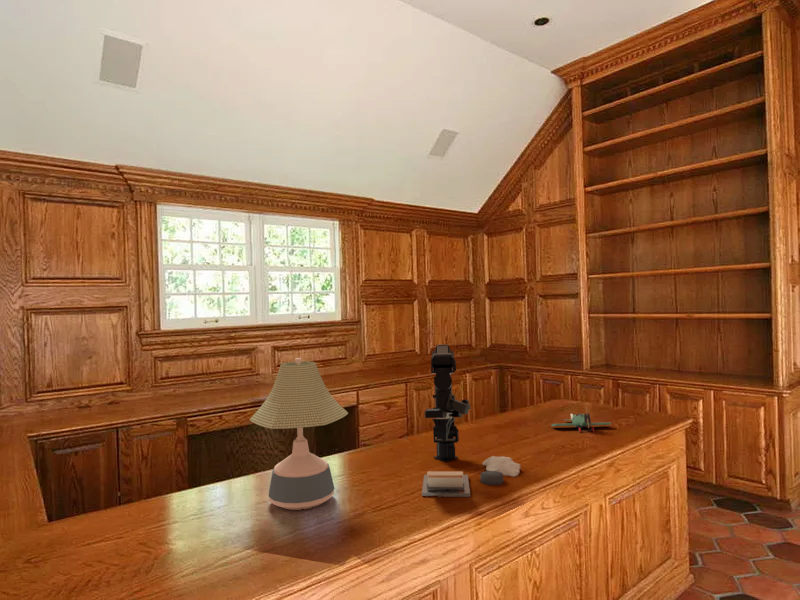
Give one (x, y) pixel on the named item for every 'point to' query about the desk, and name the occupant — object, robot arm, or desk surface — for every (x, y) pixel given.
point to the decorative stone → (502, 465)
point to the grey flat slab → (446, 490)
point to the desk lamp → (299, 434)
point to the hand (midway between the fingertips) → (444, 440)
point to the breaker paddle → (445, 480)
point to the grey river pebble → (491, 478)
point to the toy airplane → (581, 421)
